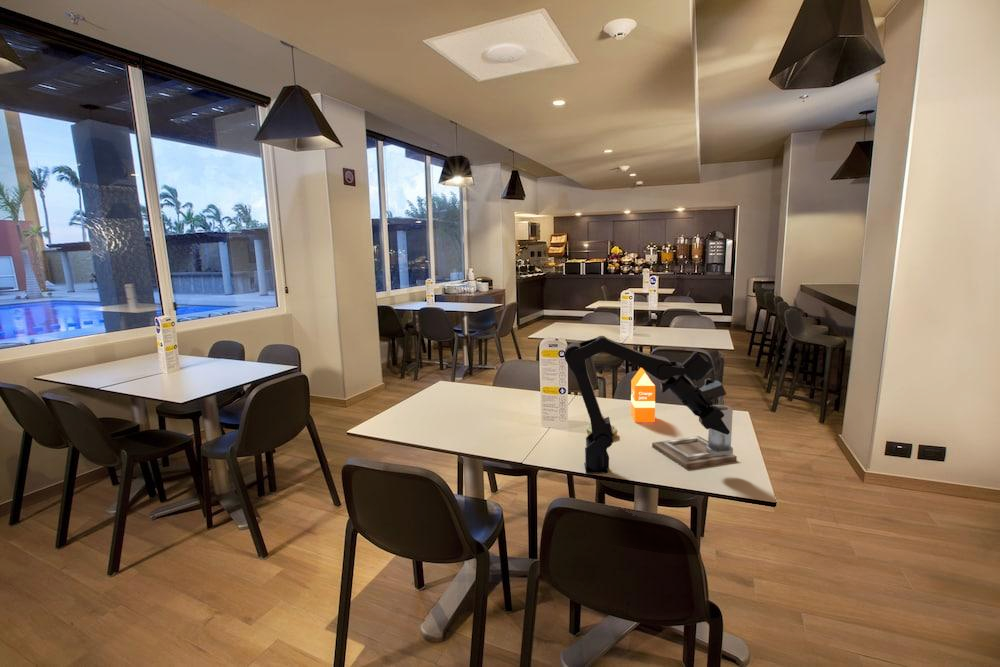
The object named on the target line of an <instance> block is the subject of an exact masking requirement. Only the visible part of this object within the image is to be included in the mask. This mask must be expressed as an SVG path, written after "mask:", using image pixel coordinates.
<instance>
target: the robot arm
mask: <svg viewBox="0 0 1000 667" xmlns="http://www.w3.org/2000/svg"><path fill="white" fill-rule="evenodd" d="M602 352H603V353H606V354H609V355H611V356H614V357H615V358H618V359H620V360H622V361H623V360H624V361H625V362H627V363H630V364H632V365H634V366H637V367H639V368H642V369H643V370H644V371H645V372H647V373H648V374H650V375H651V376H652V377H655V378H656V379H658V380H659V384H660V387H659V389H660V391H661V392H662V393H666V391H668V390H669V391H671V393H673V395H675V396H676V397H677V399H679V400H680V401H681V403H682V404H683V405H684V406H685V407H687V408H688V409H689V410H690V411H691V412H692V413H693V415H694V416H696V417H698V421H699V423H700V424H701V426H702V427H704V429H706V430H709V428H710V429H713V430H716V431H719V432H721V433H724V434H726V435H728V434H729V433H730V431H729V430H728V428H727V427H726V425H725V424H724V422H723V421H722V419H721V418H722V417H724V415H725V414H724V413H723V412H722V411H721V410H720V409H719V408H718V407H717V406H712V405H714V404H713V401H712V400H715V399H718V398H720V397H724V396H726V395H727V391H726V390H725V387H724V386H723V383H722V382H720V381H719V380H712V379H711V378H706V379H704V381H703V382H704V383H703V384H704V385H702V386H701V387H700V388H699V387H698V386H697V385H694V383H692V382H694V381H696V382H697V381H698V382H700V381H701V380H702V379H703V378H704V377H706V375H708V374H709V373H710V372H711V371H712V370H714V369H715V367H714V366H713V364H711V363H710V362H709V361H708V360H707V359H705V358H704V357H703V356H702V355H700V354H699V353H698V352H697V351H695V350H694V351H693V352H692V353H691V354H690V356H689V357H687V359H685V360H684V361H683V362H682V363H681V362H679V361H672V360H669V359H668V358H667V357H664V356H660V355H657V354H651V353H645V352H642V351H639V350H636V349H634V348H632V347H629V346H628V345H627V346H626V345H625V344H622V343H619V342H617V341H616V340H612V339H610V338H607V337H606V336H605V335H598V336H597V337H594V338H592V339H588V340H584V341H581V342H571V343H569V344H567V346H566V347H565V349H564V360H565V361H566V364H567V365H568V367H569V369H570V370H571V372H572V374H573V375H574V376H575V379H576V382H577V385H578V388H579V390H580V394H581V396H582V399H583V400H582V401H583V402H584V404H585V408H586V411H587V414H588V417H589V420H590V424H591V428H592V433H591V434H590V435H587V436H586V437H585V444H586V445H585V447H584V463H583V464H584V469H585V473H586V474H608V473H609V469H610V461H609V460H610V456H609V453H608V450H607V449H609V448H610V447H611V446H612V445H613V443H614V439H613V436H615V435H614V431H613V427H612V426H611V425H612V424H611V421H610V420H611V419H610V417H609V416H607V417H605V416H604V415H603V413H602V411H601V408H600V405H599V403H598V399H597V396H596V394H595V390H594V387H593V385H592V382H591V379H590V375H589V373H588V368H587V359H589V358H591V357H594V356H595V355H597V354H599V353H602ZM685 375H687V377H688V378H689V379H690V380H689V379H688V378H687V377H686V376H685ZM691 380H692V382H691Z"/></svg>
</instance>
